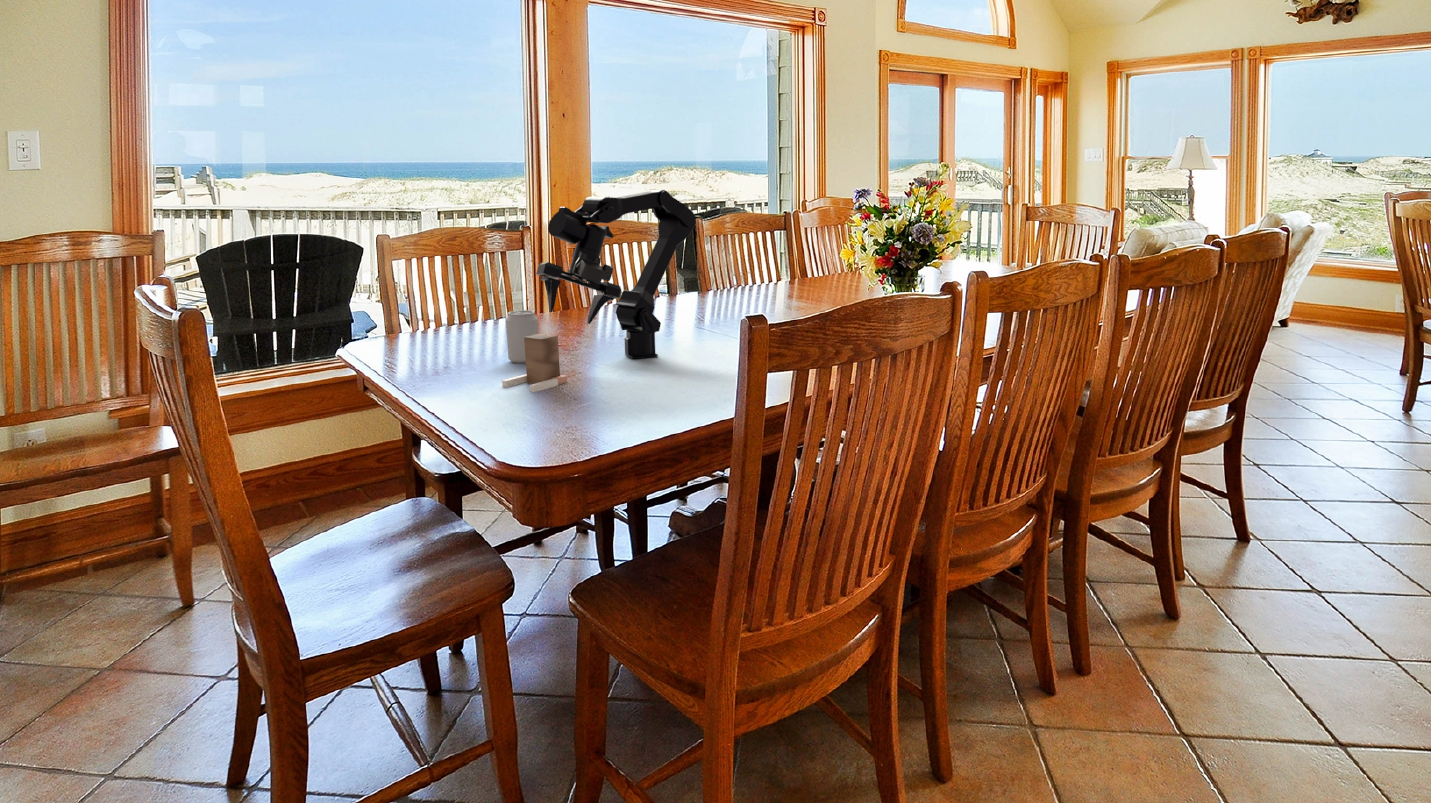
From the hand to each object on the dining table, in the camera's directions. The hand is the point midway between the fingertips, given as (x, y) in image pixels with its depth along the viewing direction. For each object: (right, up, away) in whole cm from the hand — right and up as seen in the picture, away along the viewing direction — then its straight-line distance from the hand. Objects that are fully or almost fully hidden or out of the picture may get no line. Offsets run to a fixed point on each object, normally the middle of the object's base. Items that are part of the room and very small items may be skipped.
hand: (569, 317), depth 214 cm
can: (-13, -9, +14) cm, 21 cm away
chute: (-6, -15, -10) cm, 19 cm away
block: (-4, -15, -8) cm, 17 cm away
